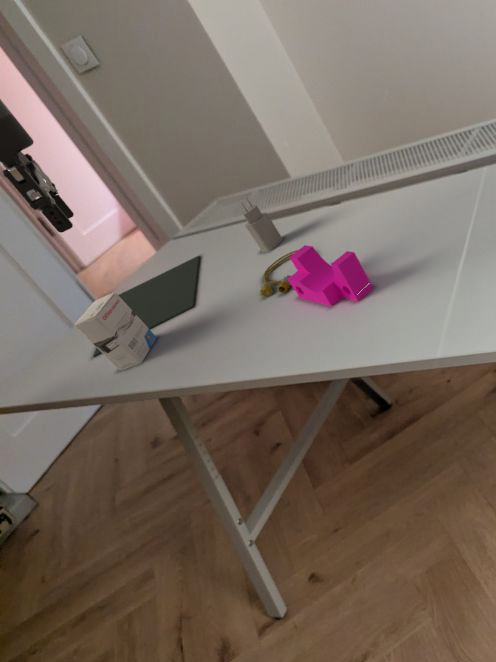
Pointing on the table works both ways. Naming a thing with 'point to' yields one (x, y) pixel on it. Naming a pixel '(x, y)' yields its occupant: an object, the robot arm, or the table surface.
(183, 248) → the table surface
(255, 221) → the power adapter
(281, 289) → the braided water hose
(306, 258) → the toy block
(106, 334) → the ink box
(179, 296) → the mat
